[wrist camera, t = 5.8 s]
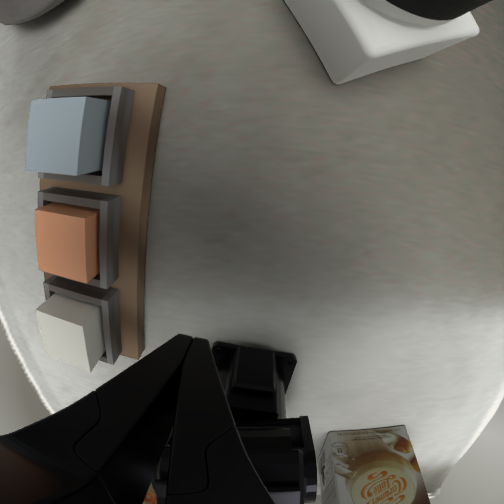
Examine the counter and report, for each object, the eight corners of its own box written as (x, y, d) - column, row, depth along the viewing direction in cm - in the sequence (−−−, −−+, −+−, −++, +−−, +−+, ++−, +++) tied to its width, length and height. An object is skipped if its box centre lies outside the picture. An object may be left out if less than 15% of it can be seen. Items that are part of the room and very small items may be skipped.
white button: (107, 347, 20) (90, 372, 18) (65, 333, 20) (46, 355, 17) (103, 303, 19) (82, 326, 16) (58, 290, 19) (35, 309, 16)
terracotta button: (108, 264, 19) (86, 283, 16) (62, 253, 19) (38, 269, 16) (109, 206, 18) (85, 218, 15) (61, 199, 18) (34, 209, 15)
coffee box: (407, 422, 26) (447, 545, 11) (387, 453, 28) (414, 562, 13) (327, 430, 26) (345, 574, 11) (314, 460, 28) (324, 582, 13)
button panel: (144, 348, 23) (130, 374, 20) (61, 323, 23) (42, 343, 20) (165, 87, 16) (146, 78, 13) (61, 88, 16) (33, 84, 13)
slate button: (104, 169, 16) (76, 175, 13) (54, 164, 16) (24, 170, 13) (113, 101, 14) (86, 96, 12) (61, 102, 14) (31, 100, 12)
